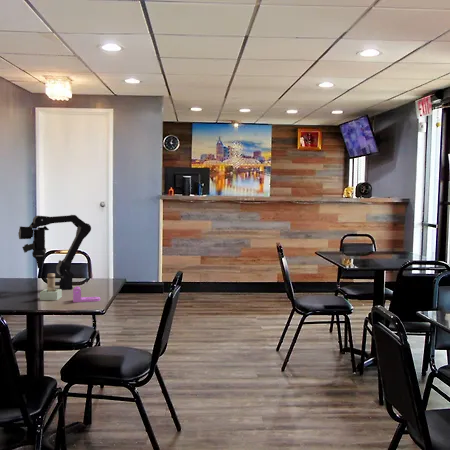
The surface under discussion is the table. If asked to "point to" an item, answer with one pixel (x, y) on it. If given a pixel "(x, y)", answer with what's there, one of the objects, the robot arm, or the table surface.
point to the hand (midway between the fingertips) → (39, 267)
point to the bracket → (78, 297)
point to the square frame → (51, 295)
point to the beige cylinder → (51, 282)
